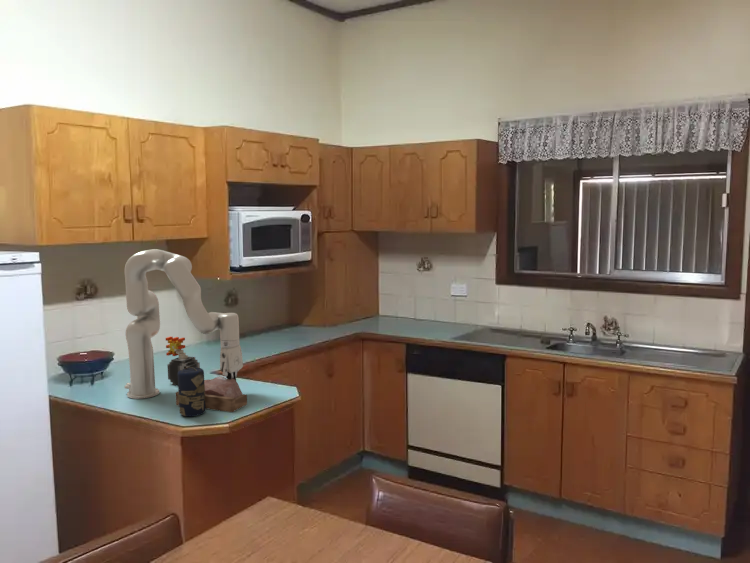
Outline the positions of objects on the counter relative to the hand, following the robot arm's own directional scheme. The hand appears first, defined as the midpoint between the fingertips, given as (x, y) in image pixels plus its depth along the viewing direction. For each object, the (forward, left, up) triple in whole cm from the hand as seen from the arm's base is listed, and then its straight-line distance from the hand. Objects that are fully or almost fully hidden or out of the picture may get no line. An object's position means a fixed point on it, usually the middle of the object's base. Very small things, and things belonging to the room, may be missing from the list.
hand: (232, 387), depth 269 cm
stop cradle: (0, -14, -3) cm, 14 cm away
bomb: (-31, +8, -3) cm, 32 cm away
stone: (+1, -9, -4) cm, 10 cm away
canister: (0, -26, -3) cm, 26 cm away
